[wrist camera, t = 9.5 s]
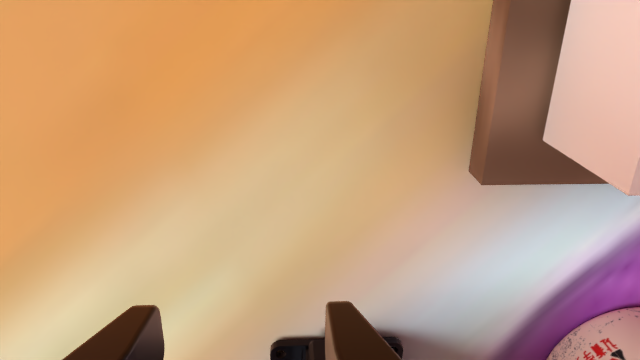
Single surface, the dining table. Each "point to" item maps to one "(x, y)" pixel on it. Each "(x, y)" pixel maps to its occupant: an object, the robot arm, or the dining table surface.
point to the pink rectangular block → (599, 91)
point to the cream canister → (603, 338)
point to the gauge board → (522, 98)
